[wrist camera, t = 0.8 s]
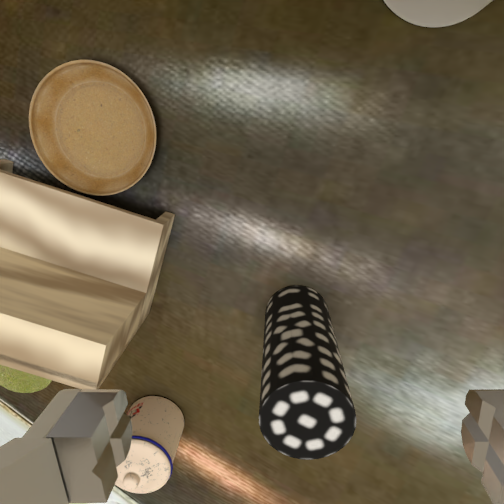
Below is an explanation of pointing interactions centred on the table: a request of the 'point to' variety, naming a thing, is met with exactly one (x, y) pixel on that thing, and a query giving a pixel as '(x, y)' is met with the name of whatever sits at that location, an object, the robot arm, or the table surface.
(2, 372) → the green disc with hole
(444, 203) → the table surface
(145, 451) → the teacup with lid
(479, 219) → the table surface
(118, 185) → the plant saucer
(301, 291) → the white-spotted black cylinder
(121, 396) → the robot arm
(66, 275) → the wooden step block
